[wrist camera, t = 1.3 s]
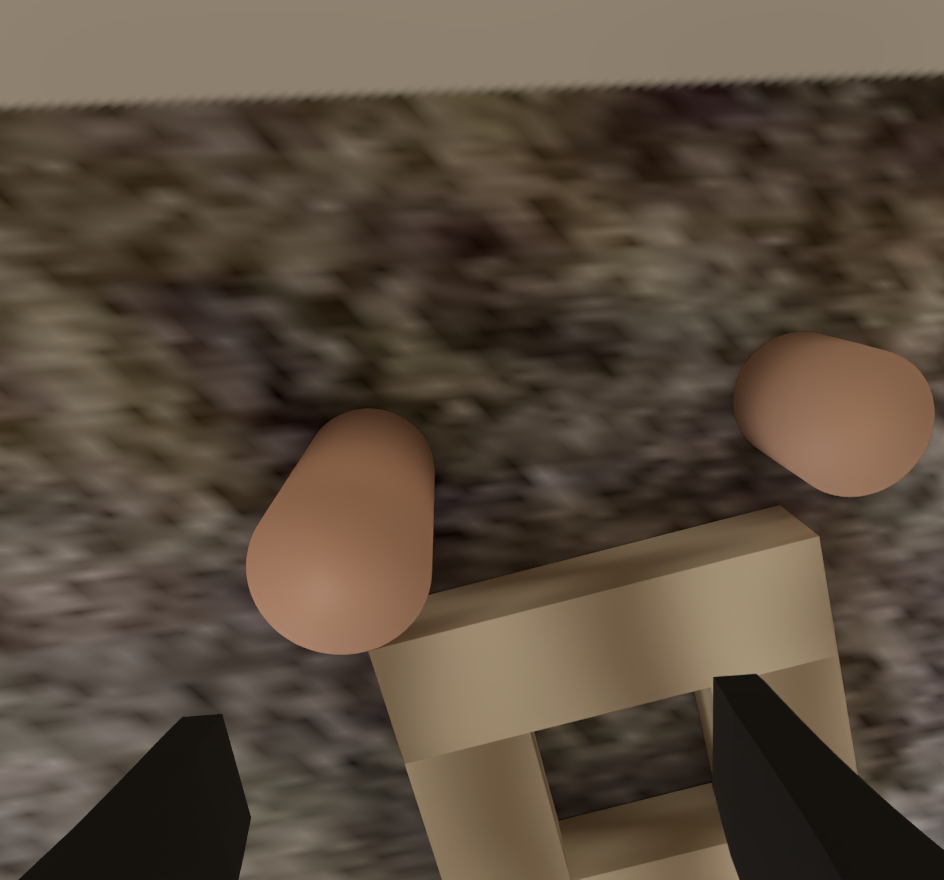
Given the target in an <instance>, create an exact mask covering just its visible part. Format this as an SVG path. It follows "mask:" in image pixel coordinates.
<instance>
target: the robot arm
mask: <svg viewBox="0 0 944 880" xmlns="http://www.w3.org/2000/svg"><path fill="white" fill-rule="evenodd" d="M712 787H713V791H714V794H715V798H716V802H717V806H718V810H719V814H720V818H721V822H722V826H723V830H724V833H725V837H726V841H727V844H728V848H729V852H730V855H731V858H732V861H733V864H734V867H735V869H736V872H737V875H738V877H739V880H944V850H943V849H942V848H941V847H940V846H938V845H937V844H936V843H935V842H933V841H932V840H931V839H930V838H929V837H927V836H926V835H925V834H924V833H923V832H921V831H920V830H919V829H918V828H917V827H916V826H914V825H913V824H912V823H911V822H910V821H909V820H907V819H906V818H905V817H904V816H903V815H902V814H900V813H899V812H898V811H897V810H896V809H894V808H893V807H892V806H891V805H890V804H889V803H888V802H887V801H886V800H884V799H883V798H882V797H881V796H880V795H879V794H878V793H877V792H875V791H874V790H873V789H872V788H871V787H870V786H869V785H868V784H867V783H866V782H865V781H864V780H863V779H862V778H860V777H859V776H858V775H857V774H856V773H855V772H854V771H853V770H852V769H851V768H850V767H849V766H848V765H847V764H846V763H845V762H843V761H842V760H841V759H840V758H839V757H838V756H837V755H836V754H835V753H834V752H833V751H832V750H831V749H830V748H829V747H828V746H827V745H826V744H825V743H824V742H823V741H822V740H821V739H820V738H819V737H818V736H817V735H816V734H815V733H814V732H813V731H812V730H811V729H810V728H809V727H808V726H807V725H806V724H805V723H804V722H803V721H802V720H801V719H800V718H799V717H798V716H797V715H796V714H795V713H794V712H793V710H792V709H791V708H790V707H789V706H788V705H787V704H786V703H785V702H784V701H783V700H782V699H781V698H780V697H779V696H778V695H777V694H776V692H775V691H774V690H773V689H772V688H771V687H770V686H769V685H768V684H767V683H766V682H765V681H764V680H763V679H762V678H761V677H760V676H758V675H757V674H745V675H732V676H718V677H713V761H712ZM250 820H251V816H250V812H249V809H248V805H247V801H246V798H245V794H244V791H243V787H242V784H241V780H240V776H239V773H238V769H237V766H236V762H235V758H234V755H233V751H232V748H231V744H230V740H229V737H228V733H227V730H226V726H225V723H224V719H223V715H222V714H217V715H204V716H191V717H182V718H181V719H180V720H179V721H178V722H177V723H176V724H175V725H174V726H173V727H172V728H171V729H170V730H169V731H168V732H167V733H166V734H165V735H164V736H163V737H162V738H161V739H160V740H159V741H158V742H157V743H156V744H155V745H154V746H153V747H152V748H151V749H150V750H149V751H148V752H147V753H146V754H145V755H144V757H143V758H142V759H141V760H140V761H139V762H138V763H137V764H136V765H135V766H134V767H133V768H132V769H131V770H130V771H129V772H128V773H127V774H126V775H125V776H124V777H123V778H122V779H121V780H120V781H119V783H118V784H117V785H116V786H115V787H114V788H113V789H112V790H111V791H110V792H109V793H108V794H107V795H106V796H105V797H104V798H103V799H102V800H101V801H100V802H99V803H98V804H97V805H96V806H95V807H94V808H93V809H92V810H91V811H90V812H89V813H88V814H87V815H86V816H85V817H84V818H83V819H82V820H81V821H80V822H79V823H78V824H77V825H76V826H75V827H74V828H73V829H72V830H71V831H70V832H69V833H68V834H67V835H66V836H65V837H63V838H62V839H61V840H60V841H59V842H58V843H57V844H56V845H55V846H54V847H53V848H52V849H51V850H50V851H49V852H48V853H46V854H45V855H44V856H43V857H42V858H41V859H40V860H39V861H38V862H37V863H36V864H35V865H34V866H33V867H32V868H31V869H29V870H28V871H27V872H26V873H25V874H24V875H23V876H22V877H21V878H20V879H19V880H238V879H239V874H240V870H241V865H242V861H243V856H244V851H245V846H246V841H247V836H248V830H249V825H250Z"/></svg>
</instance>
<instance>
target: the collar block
mask: <svg viewBox="0 0 944 880" xmlns="http://www.w3.org/2000/svg"><path fill="white" fill-rule="evenodd" d="M368 652H369V655H370V658H371V661H372V664H373V667H374V670H375V673H376V676H377V680H378V683H379V686H380V689H381V692H382V695H383V698H384V701H385V704H386V707H387V711H388V714H389V717H390V720H391V723H392V726H393V729H394V732H395V735H396V739H397V742H398V745H399V748H400V751H401V754H402V757H403V760H404V763H405V767H406V770H407V773H408V776H409V779H410V782H411V785H412V788H413V791H414V794H415V798H416V801H417V804H418V807H419V810H420V813H421V816H422V819H423V822H424V826H425V829H426V832H427V835H428V838H429V841H430V844H431V847H432V850H433V853H434V857H435V860H436V863H437V866H438V869H439V872H440V875H441V878H442V880H739V877H738V875H737V872H736V869H735V867H734V864H733V861H732V858H731V855H730V852H729V848H728V844H727V841H726V837H725V833H724V830H723V826H722V822H721V818H720V814H719V810H718V806H717V802H716V798H715V794H714V791H713V787H712V783H708V784H704V785H700V786H696V787H692V788H688V789H684V790H680V791H676V792H672V793H668V794H664V795H660V796H656V797H652V798H648V799H644V800H640V801H636V802H632V803H628V804H624V805H620V806H616V807H612V808H608V809H604V810H599V811H595V812H591V813H587V814H583V815H579V816H575V817H571V818H567V819H563V820H559V821H558V817H557V813H556V810H555V806H554V802H553V799H552V795H551V791H550V788H549V784H548V780H547V777H546V773H545V769H544V766H543V762H542V758H541V755H540V751H539V747H538V744H537V740H536V736H535V733H534V731H538V730H542V729H546V728H550V727H554V726H558V725H562V724H566V723H570V722H574V721H578V720H582V719H586V718H590V717H594V716H598V715H602V714H606V713H610V712H614V711H618V710H622V709H626V708H630V707H634V706H638V705H642V704H646V703H649V702H653V701H657V700H661V699H665V698H669V697H673V696H677V695H681V694H685V693H689V692H693V691H694V693H695V698H696V702H697V707H698V712H699V716H700V721H701V726H702V731H703V735H704V740H705V745H706V749H707V754H708V759H709V763H710V768H711V773H712V761H713V677H718V676H732V675H745V674H757V675H758V676H760V677H761V678H762V679H763V680H764V681H765V682H766V683H767V684H768V685H769V686H770V687H771V688H772V689H773V690H774V691H775V692H776V694H777V695H778V696H779V697H780V698H781V699H782V700H783V701H784V702H785V703H786V704H787V705H788V706H789V707H790V708H791V709H792V710H793V712H794V713H795V714H796V715H797V716H798V717H799V718H800V719H801V720H802V721H803V722H804V723H805V724H806V725H807V726H808V727H809V728H810V729H811V730H812V731H813V732H814V733H815V734H816V735H817V736H818V737H819V738H820V739H821V740H822V741H823V742H824V743H825V744H826V745H827V746H828V747H829V748H830V749H831V750H832V751H833V752H834V753H835V754H836V755H837V756H838V757H839V758H840V759H841V760H842V761H843V762H845V763H846V764H847V765H848V766H849V767H850V768H851V769H852V770H853V771H854V772H855V773H856V774H857V768H856V762H855V756H854V749H853V743H852V737H851V731H850V724H849V718H848V712H847V706H846V700H845V693H844V687H843V681H842V675H841V669H840V662H839V656H838V650H837V644H836V638H835V631H834V625H833V619H832V613H831V607H830V600H829V594H828V588H827V582H826V575H825V569H824V563H823V557H822V551H821V544H820V538H819V536H818V535H817V534H816V533H815V532H813V531H812V530H811V529H810V528H808V527H807V526H806V525H804V524H803V523H802V522H801V521H799V520H798V519H797V518H796V517H794V516H793V515H792V514H791V513H789V512H788V511H787V510H786V509H784V508H783V507H782V506H781V505H778V506H774V507H770V508H766V509H762V510H758V511H754V512H750V513H747V514H743V515H739V516H735V517H731V518H727V519H723V520H719V521H715V522H711V523H707V524H704V525H700V526H696V527H692V528H688V529H684V530H680V531H676V532H672V533H668V534H665V535H661V536H657V537H653V538H649V539H645V540H641V541H637V542H633V543H629V544H625V545H622V546H618V547H614V548H610V549H606V550H602V551H598V552H594V553H590V554H586V555H583V556H579V557H575V558H571V559H567V560H563V561H559V562H555V563H551V564H547V565H544V566H540V567H536V568H532V569H528V570H524V571H520V572H516V573H512V574H508V575H504V576H501V577H497V578H493V579H489V580H485V581H481V582H477V583H473V584H469V585H465V586H462V587H458V588H454V589H450V590H446V591H442V592H438V593H434V594H430V595H428V596H427V599H426V602H425V604H424V606H423V608H422V610H421V612H420V613H419V615H418V616H417V618H416V619H415V620H414V622H413V623H412V624H411V625H410V626H409V627H408V628H407V629H406V630H405V631H404V632H403V633H401V634H400V635H399V636H398V637H396V638H395V639H393V640H392V641H390V642H388V643H387V644H385V645H382V646H380V647H378V648H376V649H372V650H369V651H368ZM857 775H858V774H857Z"/></svg>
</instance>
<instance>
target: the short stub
mask: <svg viewBox="0 0 944 880" xmlns="http://www.w3.org/2000/svg"><path fill="white" fill-rule="evenodd" d="M733 408H734V415H735V419H736V422H737V424H738V427H739V429H740V430H741V432H742V434H743V435H744V437H745V438H746V439H747V440H748V441H749V442H750V443H751V444H752V445H753V446H754V447H756V448H757V449H758V450H760V451H761V452H763V453H764V454H766V455H767V456H769V457H770V458H772V459H773V460H775V461H776V462H778V463H779V464H781V465H782V466H784V467H785V468H786V469H788V470H789V471H791V472H792V473H794V474H795V475H797V476H798V477H800V478H801V479H803V480H804V481H806V482H807V483H809V484H810V485H812V486H813V487H815V488H817V489H818V490H820V491H822V492H825V493H828V494H831V495H836V496H842V497H858V496H864V495H869V494H873V493H876V492H879V491H881V490H883V489H885V488H888V487H889V486H891V485H893V484H894V483H896V482H898V481H899V480H900V479H901V478H903V477H904V476H905V475H906V474H907V473H908V472H909V471H910V470H911V469H912V468H913V467H914V466H915V465H916V463H917V462H918V461H919V460H920V458H921V456H922V455H923V453H924V452H925V450H926V448H927V445H928V443H929V441H930V438H931V435H932V431H933V426H934V417H935V412H934V402H933V396H932V393H931V390H930V387H929V385H928V383H927V381H926V379H925V378H924V377H923V375H922V374H921V372H920V371H919V370H918V369H917V368H916V367H915V366H914V365H913V364H912V363H910V362H909V361H908V360H906V359H905V358H903V357H901V356H899V355H897V354H895V353H892V352H889V351H886V350H882V349H878V348H874V347H870V346H866V345H863V344H859V343H855V342H851V341H847V340H843V339H840V338H836V337H832V336H828V335H824V334H820V333H816V332H807V331H800V332H792V333H787V334H784V335H781V336H778V337H776V338H774V339H772V340H770V341H768V342H767V343H765V344H764V345H762V346H761V347H760V348H759V349H757V350H756V351H755V352H754V353H753V354H752V355H751V356H750V358H749V359H748V360H747V362H746V363H745V364H744V366H743V368H742V370H741V371H740V374H739V376H738V378H737V381H736V385H735V388H734V395H733Z"/></svg>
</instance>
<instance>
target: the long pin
mask: <svg viewBox="0 0 944 880" xmlns="http://www.w3.org/2000/svg"><path fill="white" fill-rule="evenodd" d="M434 488H435V465H434V459H433V455H432V452H431V449H430V447H429V445H428V443H427V441H426V439H425V438H424V436H423V435H422V434H421V432H420V431H419V430H418V429H417V428H416V427H415V426H414V425H413V424H411V423H410V422H409V421H408V420H406V419H404V418H403V417H401V416H399V415H397V414H395V413H392V412H389V411H386V410H381V409H374V408H364V409H356V410H351V411H348V412H345V413H343V414H341V415H339V416H336V417H335V418H333V419H332V420H330V421H329V422H328V423H326V424H325V425H324V426H323V427H322V428H321V429H320V430H319V432H318V433H317V434H316V436H315V437H314V439H313V440H312V442H311V443H310V445H309V446H308V448H307V449H306V451H305V453H304V454H303V456H302V457H301V459H300V460H299V462H298V463H297V465H296V467H295V468H294V470H293V471H292V473H291V474H290V476H289V477H288V479H287V481H286V482H285V484H284V485H283V487H282V488H281V490H280V491H279V493H278V494H277V496H276V498H275V499H274V501H273V502H272V504H271V505H270V507H269V508H268V510H267V512H266V513H265V515H264V516H263V518H262V519H261V521H260V522H259V524H258V525H257V527H256V529H255V531H254V533H253V535H252V538H251V541H250V544H249V547H248V553H247V559H246V573H247V581H248V585H249V589H250V592H251V595H252V597H253V600H254V602H255V604H256V606H257V608H258V609H259V611H260V613H261V614H262V615H263V617H264V618H265V619H266V621H267V622H268V623H269V624H270V625H271V626H272V627H273V628H274V629H275V630H276V631H277V632H279V633H280V634H281V635H283V636H284V637H285V638H287V639H288V640H290V641H292V642H294V643H295V644H297V645H300V646H302V647H304V648H307V649H310V650H313V651H316V652H321V653H327V654H338V655H346V654H356V653H361V652H366V651H369V650H372V649H376V648H378V647H380V646H382V645H385V644H387V643H388V642H390V641H392V640H393V639H395V638H396V637H398V636H399V635H400V634H401V633H403V632H404V631H405V630H406V629H407V628H408V627H409V626H410V625H411V624H412V623H413V622H414V620H415V619H416V618H417V616H418V615H419V613H420V612H421V610H422V608H423V606H424V604H425V602H426V599H427V596H428V594H429V590H430V585H431V579H432V556H433V522H434Z"/></svg>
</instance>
